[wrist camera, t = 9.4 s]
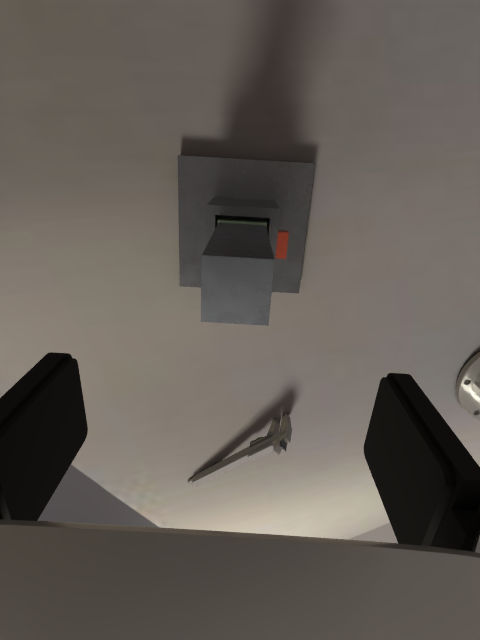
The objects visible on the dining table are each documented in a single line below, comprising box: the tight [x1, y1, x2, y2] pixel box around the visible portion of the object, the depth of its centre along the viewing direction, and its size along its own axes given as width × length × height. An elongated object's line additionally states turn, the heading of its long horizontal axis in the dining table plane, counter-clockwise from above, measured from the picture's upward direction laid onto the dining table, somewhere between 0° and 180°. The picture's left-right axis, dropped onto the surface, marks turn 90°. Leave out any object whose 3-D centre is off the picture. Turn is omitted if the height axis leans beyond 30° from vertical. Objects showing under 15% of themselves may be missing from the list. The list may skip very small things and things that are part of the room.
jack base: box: [178, 155, 315, 293], centre depth 36 cm, size 14×14×9 cm
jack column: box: [201, 218, 275, 326], centre depth 27 cm, size 4×4×14 cm
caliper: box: [188, 413, 292, 486], centre depth 51 cm, size 20×1×6 cm, turn 134°
